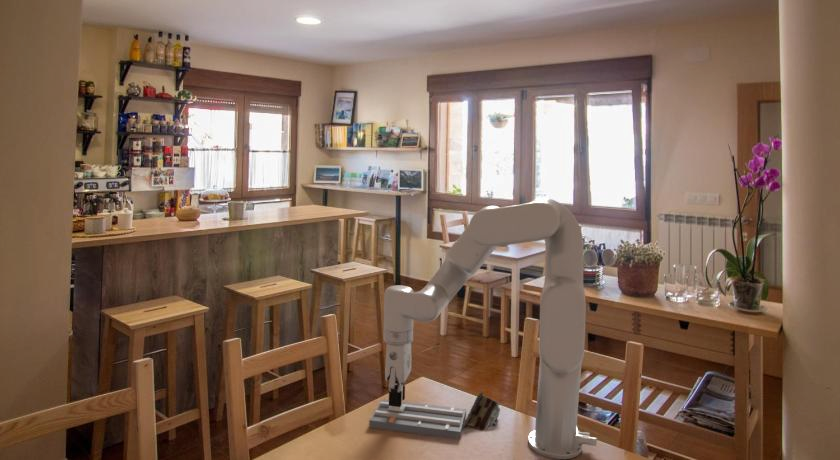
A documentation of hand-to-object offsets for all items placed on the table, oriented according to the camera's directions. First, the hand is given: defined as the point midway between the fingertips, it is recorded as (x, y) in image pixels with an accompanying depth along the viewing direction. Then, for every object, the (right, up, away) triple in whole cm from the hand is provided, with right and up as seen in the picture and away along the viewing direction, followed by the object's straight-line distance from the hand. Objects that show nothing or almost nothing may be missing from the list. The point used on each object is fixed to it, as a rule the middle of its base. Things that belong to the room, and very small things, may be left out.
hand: (396, 401), depth 139 cm
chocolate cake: (+22, -6, +1) cm, 23 cm away
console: (+6, -5, 0) cm, 8 cm away
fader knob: (0, -2, 0) cm, 2 cm away
